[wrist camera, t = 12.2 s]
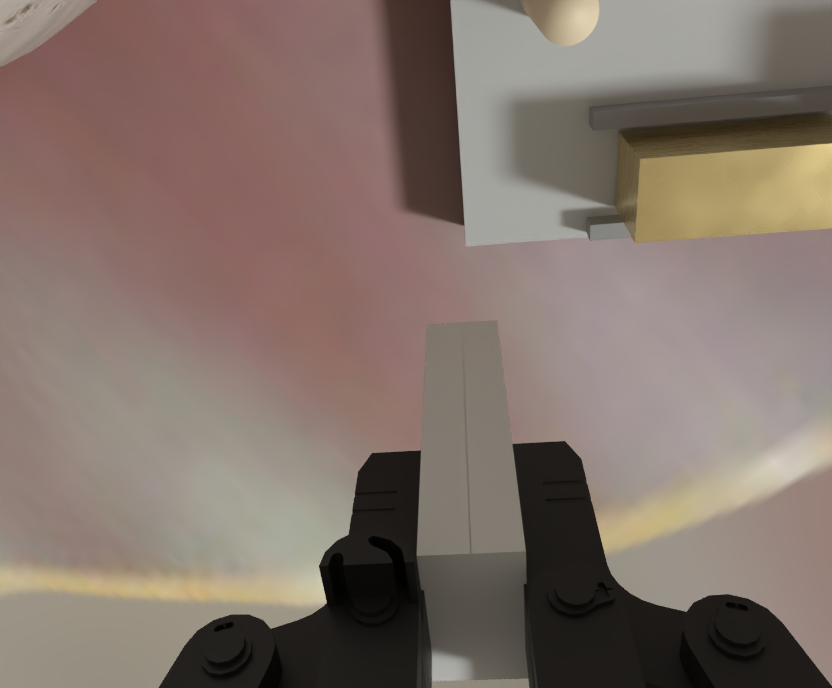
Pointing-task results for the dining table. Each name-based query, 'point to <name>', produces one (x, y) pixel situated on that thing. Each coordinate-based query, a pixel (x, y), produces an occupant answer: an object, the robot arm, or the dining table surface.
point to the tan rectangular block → (725, 178)
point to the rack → (612, 95)
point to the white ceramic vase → (33, 23)
